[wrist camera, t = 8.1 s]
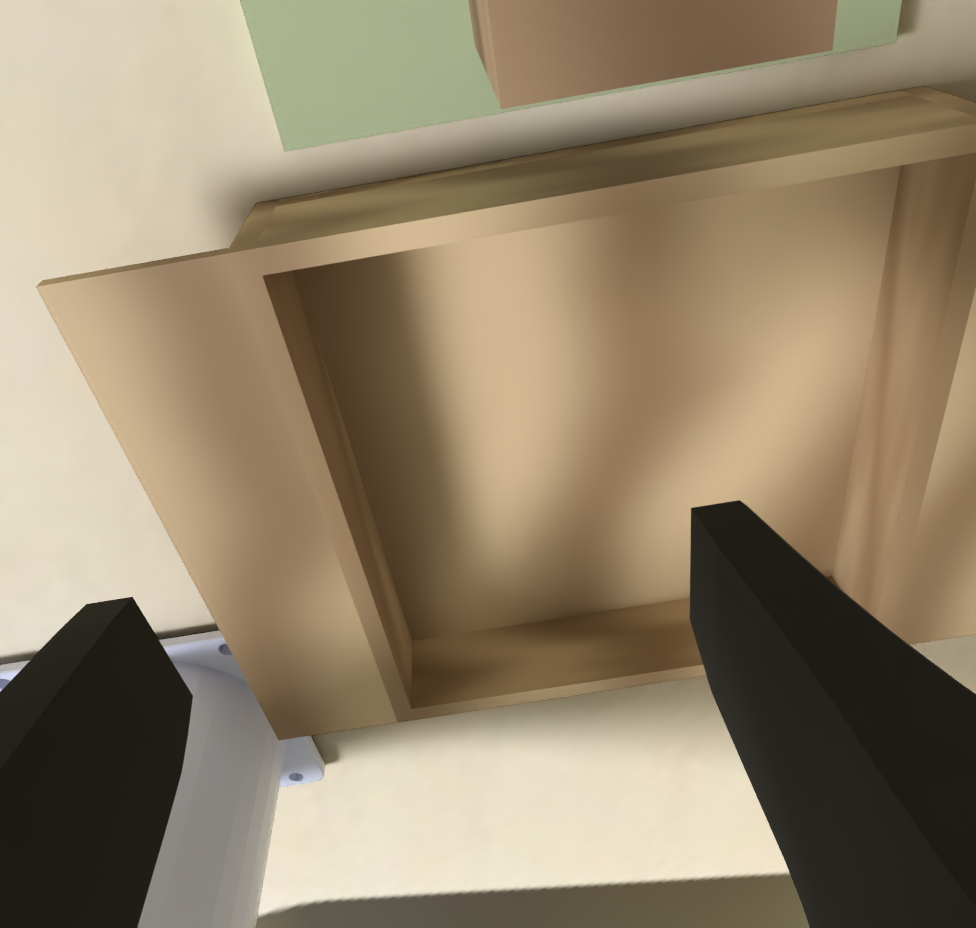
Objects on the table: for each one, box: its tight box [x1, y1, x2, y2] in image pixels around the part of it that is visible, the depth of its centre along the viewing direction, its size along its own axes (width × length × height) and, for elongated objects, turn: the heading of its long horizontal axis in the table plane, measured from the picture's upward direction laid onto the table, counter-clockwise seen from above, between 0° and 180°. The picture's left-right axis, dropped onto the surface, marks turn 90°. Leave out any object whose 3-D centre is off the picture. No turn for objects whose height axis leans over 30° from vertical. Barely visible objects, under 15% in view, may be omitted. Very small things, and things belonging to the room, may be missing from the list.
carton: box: [36, 86, 976, 740], centre depth 18 cm, size 21×14×3 cm, turn 99°
